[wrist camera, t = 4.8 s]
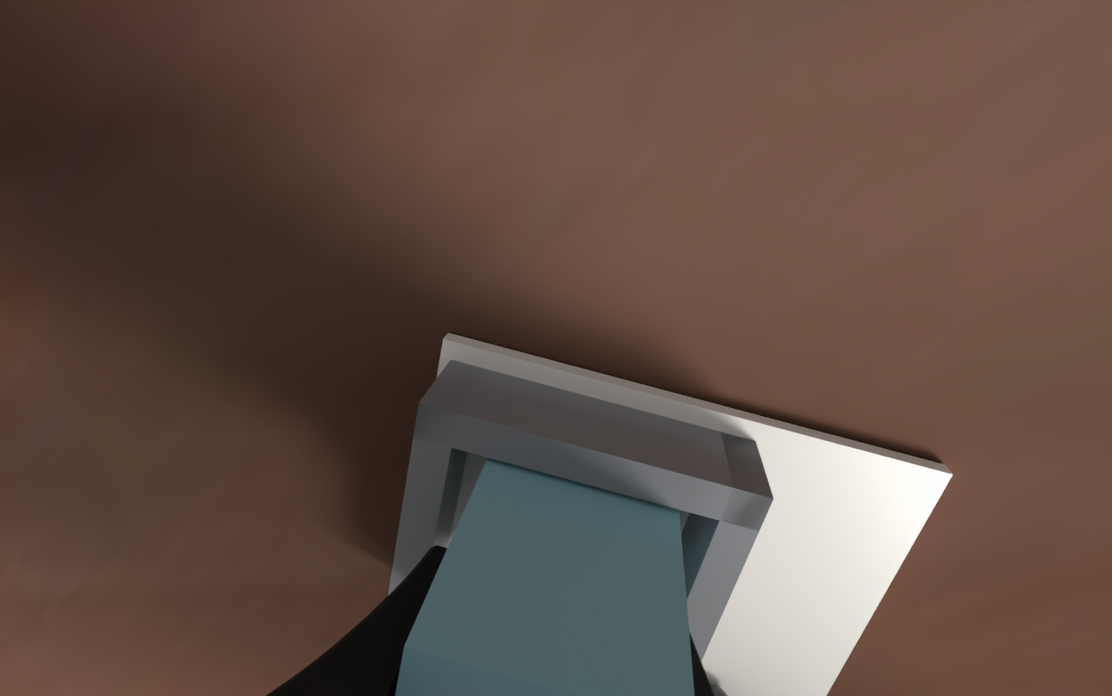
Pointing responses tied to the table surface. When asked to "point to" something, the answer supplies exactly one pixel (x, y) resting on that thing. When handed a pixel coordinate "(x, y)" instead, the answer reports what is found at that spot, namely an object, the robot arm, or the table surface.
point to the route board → (773, 528)
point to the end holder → (587, 471)
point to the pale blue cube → (553, 596)
